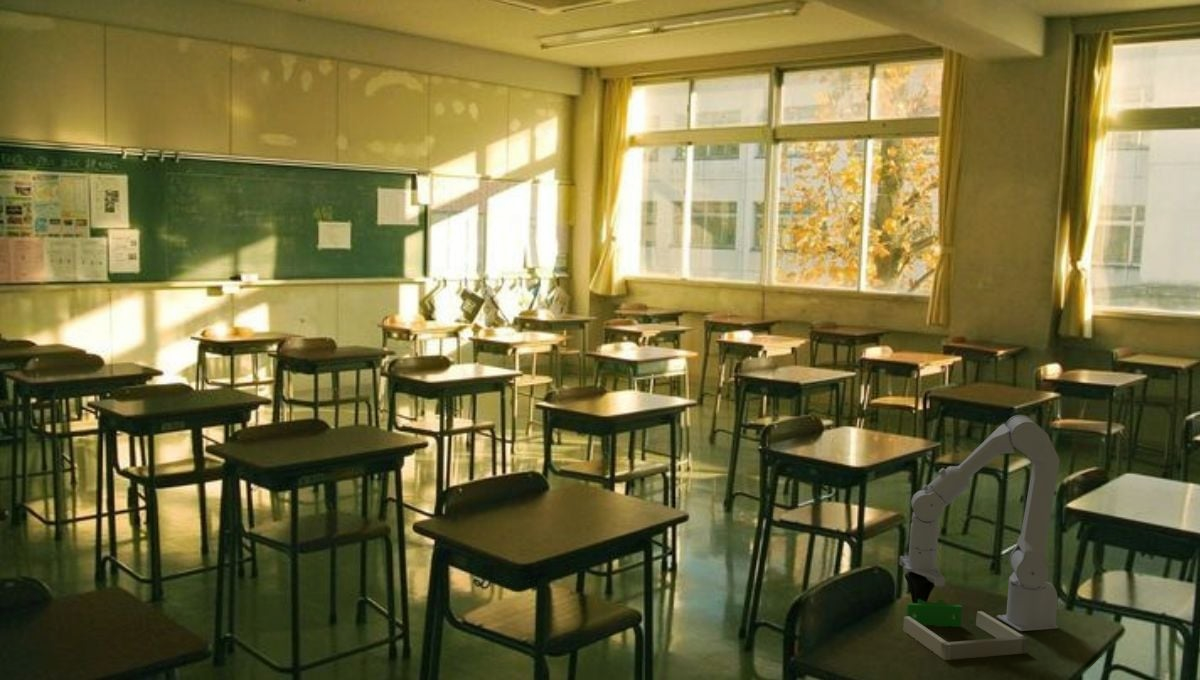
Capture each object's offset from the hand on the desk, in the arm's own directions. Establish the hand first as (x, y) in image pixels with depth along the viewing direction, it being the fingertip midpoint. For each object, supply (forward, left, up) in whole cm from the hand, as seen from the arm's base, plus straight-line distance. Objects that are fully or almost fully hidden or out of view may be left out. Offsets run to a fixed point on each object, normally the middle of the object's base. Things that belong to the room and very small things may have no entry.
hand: (919, 607), depth 220 cm
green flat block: (+1, +6, -1) cm, 6 cm away
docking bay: (0, +16, -1) cm, 16 cm away
